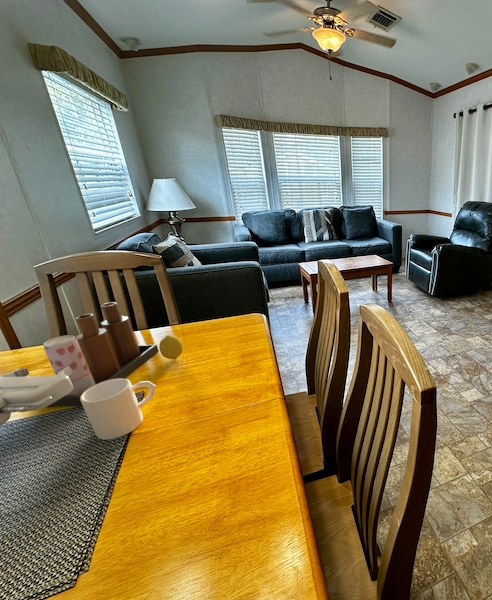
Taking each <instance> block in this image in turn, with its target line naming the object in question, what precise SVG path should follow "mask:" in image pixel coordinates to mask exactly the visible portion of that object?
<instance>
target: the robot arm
mask: <svg viewBox="0 0 492 600" xmlns="http://www.w3.org/2000/svg"><path fill="white" fill-rule="evenodd" d="M56 372H57V375H56V374H53V375H30V372H29V370H28V368H25V367H22V368H21V367H20V368H16V369H14V370H13V371H10V372H6V373H3V374H0V427H1V426H2V425H4V424H6V423H7V422H8V421H9V420H10V418H11V416H12V413H27V412H35V411H40V410H42V409H44V408H48V407H47V406H49V405H50V404H52V403H54V402H56V401H57V400H59V399H61V398H62V397H64V396H65V395H67V394H69V393H70V392H71V391H72V390H73V385H72V382H71V380H70V378H69V377H68V376H69V375H71V374H72V370H71V368H70V367H62V368H61V369H58V370H57V371H56Z"/></svg>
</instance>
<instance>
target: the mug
mask: <svg viewBox="0 0 492 600" xmlns="http://www.w3.org/2000/svg"><path fill="white" fill-rule="evenodd" d="M142 387H147V388H148V390H149V391H148V394H147V395H146V396H145V397H144V398H143V399H142V400H141V401H139V402H138V399H137V396H136V394H135V390H136V389H138V388H142ZM156 387H157V385H156V384H154V383H153V382H151V381H149V380H142V381H138V382H136V383H135V384H133V385H132V383H131V380H129V379H127V378H125V379H122V378H120V379H112V380H107V381H104V382H101V383H99V384H96V385H94V386H92V387H90V388H89V389H87V390H86V391H85V392H84V393H83V394H82V395H81V397H80V401H81V403H82V405H83V406H82V408H83V410H84V412H85V414H86V416H87V418H88V421H89V423H90V426H91V428H92V429H93V432H94V434H95V436H96V437H97V438H98V439H99V440H104V441H106V440H108V441H109V440H113V439H118V438H120V437H123V436H126V435H127V434H129V433H131V432H133V431H135V429H137V428H138V427H139V426H140V425H141V424H142V422H143V420H144V416H143V413H142V410H141V407H142V406H144V405H146V404H147V403H148V402H149V401H151V400H152V399H153V397H154V394H155V391H156Z"/></svg>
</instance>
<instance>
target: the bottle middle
mask: <svg viewBox="0 0 492 600" xmlns="http://www.w3.org/2000/svg"><path fill="white" fill-rule="evenodd" d="M75 320H76V323H77V325H78V326H79V327H78V328H79V330H80V333H78V334H77V335H76V336H75V339H77V342H78V344H79V346H80V349H81V351H82V353H83V356H84V358H85V360H86V363H87V365H88V367H89V370H90V372H91V374H92V377H93V379H94V380H96V381H100V380H106V379H109V378H111V377H112V376H113V375H115V374H116V373H117V372H119V371H120V370H121V367H120V365H119V362H118V359H117V357H116V354H115V352H114V349H113V346H112V344H111V341H110V338H109V336H108V333H107V330H106V329H103V328H102V327H101V328H99V326H98V324H97V322H96V319H95V317H94V314H93V313H85V314H81V315H77V316H76V317H75Z"/></svg>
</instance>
